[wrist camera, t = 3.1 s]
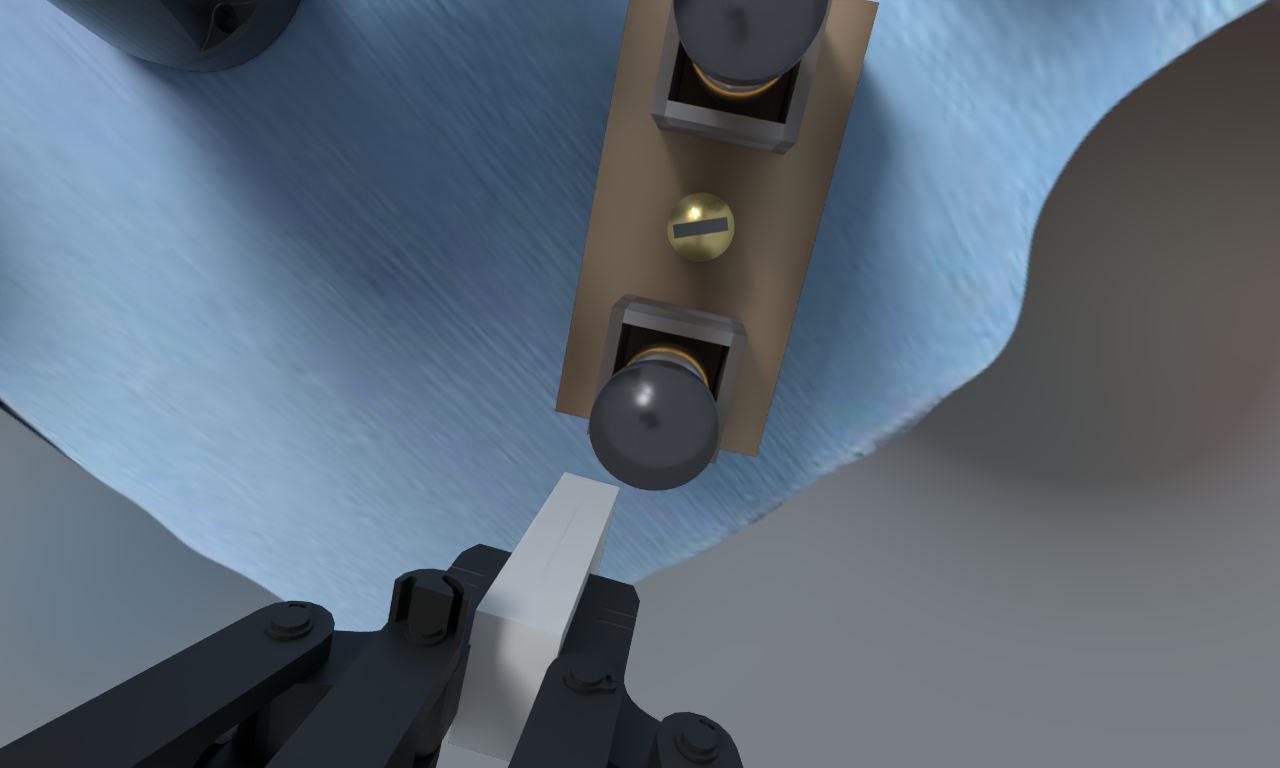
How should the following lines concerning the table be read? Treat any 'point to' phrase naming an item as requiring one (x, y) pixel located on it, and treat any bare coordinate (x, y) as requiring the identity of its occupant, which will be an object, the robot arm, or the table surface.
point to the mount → (736, 173)
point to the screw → (700, 227)
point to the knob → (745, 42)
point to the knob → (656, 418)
